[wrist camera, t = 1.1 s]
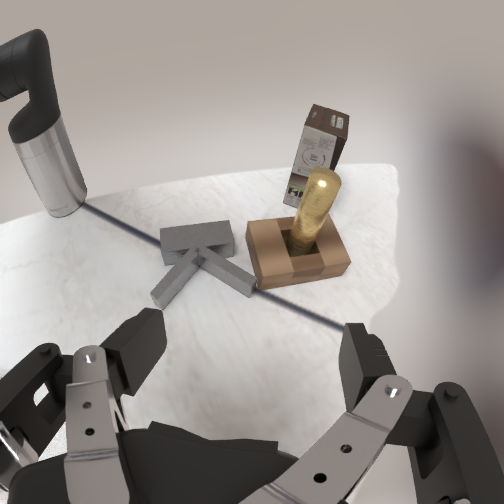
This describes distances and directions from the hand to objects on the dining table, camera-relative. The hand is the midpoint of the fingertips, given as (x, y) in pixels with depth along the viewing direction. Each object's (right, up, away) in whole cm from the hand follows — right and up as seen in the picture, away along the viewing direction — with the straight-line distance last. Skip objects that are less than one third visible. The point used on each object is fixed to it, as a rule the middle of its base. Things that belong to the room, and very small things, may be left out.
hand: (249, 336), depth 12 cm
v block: (-7, +1, +28) cm, 29 cm away
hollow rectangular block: (+6, +3, +31) cm, 31 cm away
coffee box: (+10, +14, +39) cm, 43 cm away
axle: (+6, +3, +31) cm, 31 cm away
